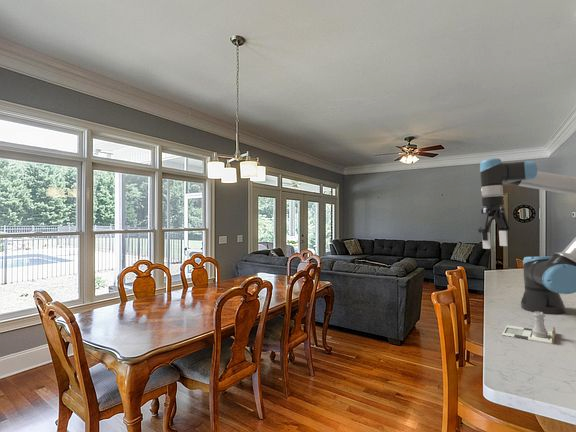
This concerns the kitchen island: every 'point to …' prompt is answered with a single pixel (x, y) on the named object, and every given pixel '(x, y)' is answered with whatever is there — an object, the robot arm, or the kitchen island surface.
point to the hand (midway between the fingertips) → (495, 247)
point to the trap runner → (527, 335)
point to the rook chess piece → (539, 325)
